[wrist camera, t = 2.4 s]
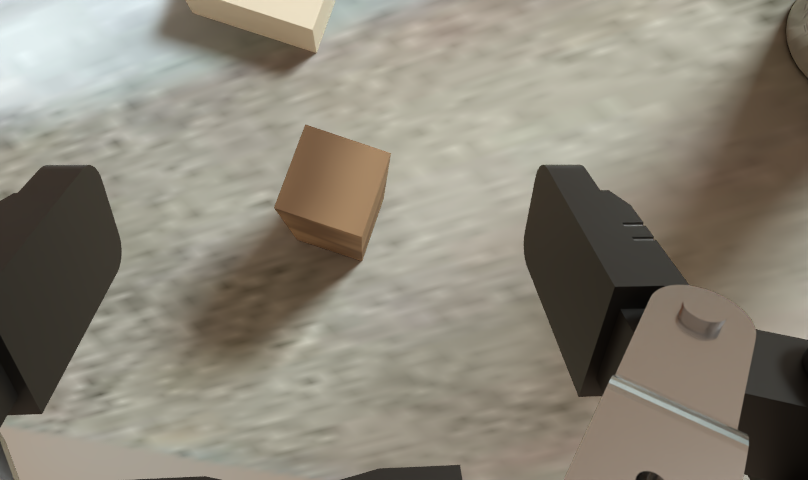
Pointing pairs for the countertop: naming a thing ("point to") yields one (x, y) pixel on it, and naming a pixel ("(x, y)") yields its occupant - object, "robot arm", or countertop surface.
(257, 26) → the slab
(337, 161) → the pillar
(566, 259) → the robot arm
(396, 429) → the countertop surface
